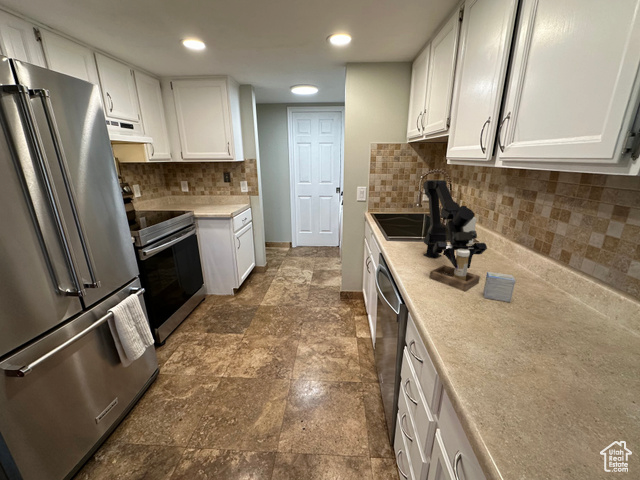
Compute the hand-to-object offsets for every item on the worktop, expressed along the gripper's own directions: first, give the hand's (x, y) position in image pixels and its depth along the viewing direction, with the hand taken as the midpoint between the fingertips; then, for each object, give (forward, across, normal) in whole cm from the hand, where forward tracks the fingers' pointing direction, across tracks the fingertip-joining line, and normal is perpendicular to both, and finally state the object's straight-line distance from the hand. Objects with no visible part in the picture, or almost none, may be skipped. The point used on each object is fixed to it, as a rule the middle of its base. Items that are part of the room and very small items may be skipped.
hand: (462, 267), depth 102 cm
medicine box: (+12, +9, -2) cm, 15 cm away
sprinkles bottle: (+4, 0, +6) cm, 7 cm away
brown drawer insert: (+3, -1, +7) cm, 8 cm away
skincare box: (-34, +22, +44) cm, 60 cm away
